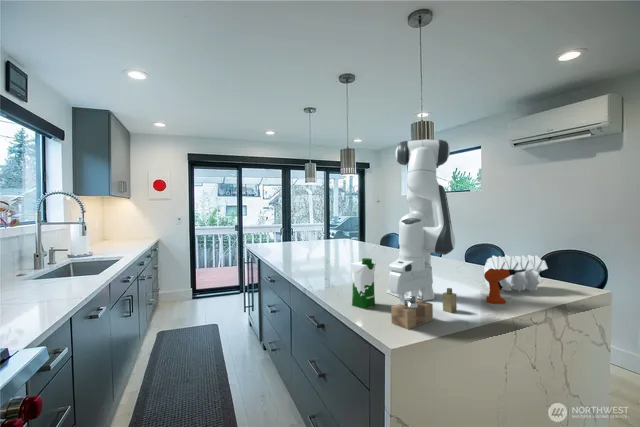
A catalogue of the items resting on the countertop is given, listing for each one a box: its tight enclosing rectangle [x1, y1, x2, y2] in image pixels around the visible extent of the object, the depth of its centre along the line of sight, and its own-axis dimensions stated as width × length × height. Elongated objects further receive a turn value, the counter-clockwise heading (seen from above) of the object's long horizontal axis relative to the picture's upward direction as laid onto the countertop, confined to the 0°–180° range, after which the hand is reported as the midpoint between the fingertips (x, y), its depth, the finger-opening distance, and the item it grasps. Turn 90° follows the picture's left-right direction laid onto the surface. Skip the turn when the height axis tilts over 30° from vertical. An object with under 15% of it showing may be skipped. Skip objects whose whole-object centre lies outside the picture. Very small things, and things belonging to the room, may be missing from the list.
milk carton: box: [350, 257, 376, 310], centre depth 127 cm, size 9×9×20 cm
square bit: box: [442, 287, 458, 314], centre depth 118 cm, size 4×4×9 cm
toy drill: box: [483, 268, 525, 304], centre depth 129 cm, size 5×19×15 cm, turn 93°
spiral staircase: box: [483, 254, 549, 293], centre depth 146 cm, size 18×18×25 cm
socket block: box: [390, 299, 434, 330], centre depth 107 cm, size 7×14×6 cm, turn 125°
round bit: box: [407, 296, 418, 307], centre depth 107 cm, size 4×4×9 cm
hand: (412, 302), depth 107 cm, fingers open, 8 cm apart
